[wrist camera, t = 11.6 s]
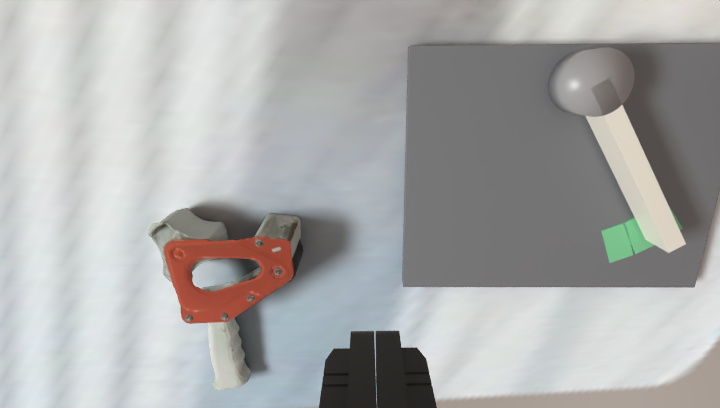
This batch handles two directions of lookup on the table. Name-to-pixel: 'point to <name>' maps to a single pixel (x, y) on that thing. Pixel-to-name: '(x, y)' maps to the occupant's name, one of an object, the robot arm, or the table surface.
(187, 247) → the tape dispenser
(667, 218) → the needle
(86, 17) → the table surface
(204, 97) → the table surface
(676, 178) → the dial plate
